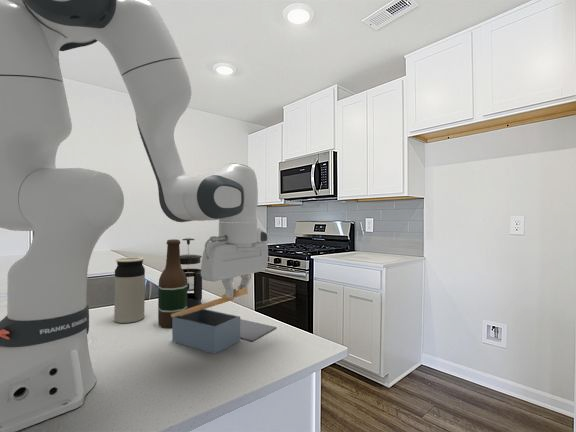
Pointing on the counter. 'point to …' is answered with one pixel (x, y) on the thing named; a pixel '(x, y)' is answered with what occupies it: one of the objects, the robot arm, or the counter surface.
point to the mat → (253, 330)
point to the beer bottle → (171, 286)
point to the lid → (210, 303)
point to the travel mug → (129, 290)
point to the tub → (206, 330)
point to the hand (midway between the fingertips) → (236, 295)
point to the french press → (195, 297)
